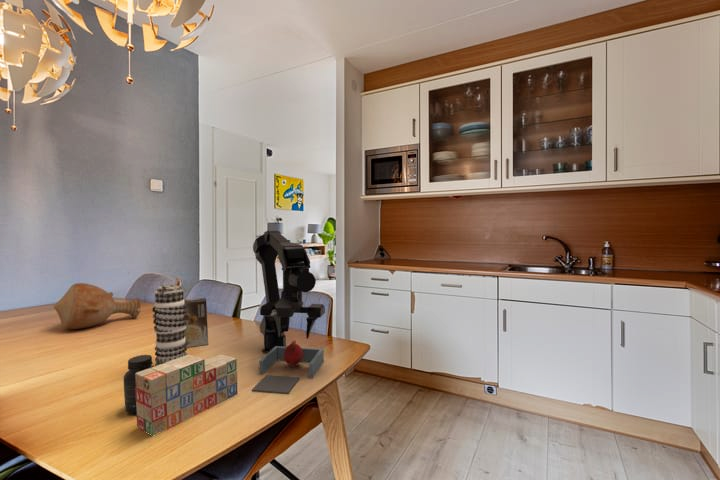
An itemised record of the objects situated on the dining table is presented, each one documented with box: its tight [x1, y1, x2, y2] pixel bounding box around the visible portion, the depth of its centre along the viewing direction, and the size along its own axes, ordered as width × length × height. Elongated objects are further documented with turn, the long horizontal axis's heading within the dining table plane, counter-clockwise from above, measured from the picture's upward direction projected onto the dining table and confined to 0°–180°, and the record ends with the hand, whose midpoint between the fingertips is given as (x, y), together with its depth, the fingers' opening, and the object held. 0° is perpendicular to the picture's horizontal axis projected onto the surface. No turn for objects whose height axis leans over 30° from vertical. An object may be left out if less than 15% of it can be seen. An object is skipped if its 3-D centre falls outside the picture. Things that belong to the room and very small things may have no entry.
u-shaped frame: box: [258, 346, 325, 379], centre depth 105 cm, size 16×12×4 cm
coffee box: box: [184, 297, 209, 349], centre depth 126 cm, size 9×6×16 cm
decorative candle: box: [151, 283, 188, 367], centre depth 105 cm, size 9×9×25 cm
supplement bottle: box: [123, 354, 155, 416], centre depth 82 cm, size 7×7×12 cm
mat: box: [251, 374, 301, 395], centre depth 94 cm, size 10×9×1 cm
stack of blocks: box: [135, 353, 238, 437], centre depth 81 cm, size 21×6×12 cm, turn 149°
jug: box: [53, 282, 142, 330], centre depth 151 cm, size 20×19×30 cm
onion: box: [283, 340, 303, 368], centre depth 106 cm, size 6×6×8 cm
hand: (293, 337), depth 106 cm, fingers open, 9 cm apart
